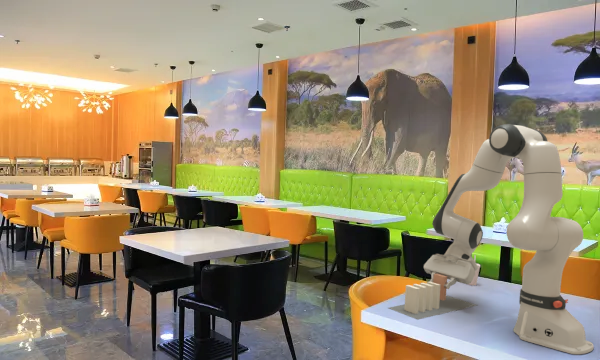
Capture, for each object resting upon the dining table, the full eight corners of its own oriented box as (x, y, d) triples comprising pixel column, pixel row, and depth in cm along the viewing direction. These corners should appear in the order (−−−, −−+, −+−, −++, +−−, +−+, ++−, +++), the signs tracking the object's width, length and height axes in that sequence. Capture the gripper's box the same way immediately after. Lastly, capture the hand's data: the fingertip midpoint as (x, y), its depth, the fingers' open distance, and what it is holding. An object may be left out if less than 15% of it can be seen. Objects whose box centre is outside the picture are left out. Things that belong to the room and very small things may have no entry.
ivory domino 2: (414, 307, 167) (415, 283, 167) (425, 311, 163) (426, 287, 163) (411, 308, 166) (413, 284, 166) (422, 312, 162) (424, 287, 162)
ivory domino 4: (428, 304, 172) (429, 281, 172) (439, 308, 168) (440, 284, 168) (425, 305, 171) (426, 281, 171) (436, 309, 167) (437, 285, 167)
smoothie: (481, 286, 207) (483, 256, 207) (467, 285, 207) (469, 255, 207) (476, 283, 214) (478, 254, 213) (462, 282, 214) (464, 253, 213)
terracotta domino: (434, 296, 175) (436, 273, 174) (445, 299, 171) (447, 276, 170) (432, 296, 174) (433, 273, 173) (443, 300, 170) (444, 277, 169)
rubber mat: (477, 306, 175) (477, 305, 175) (417, 321, 154) (417, 319, 154) (447, 297, 186) (447, 295, 186) (387, 309, 165) (387, 307, 165)
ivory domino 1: (407, 309, 165) (408, 284, 165) (418, 313, 161) (419, 288, 161) (404, 309, 164) (405, 285, 164) (415, 313, 160) (416, 288, 160)
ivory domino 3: (421, 306, 170) (422, 282, 169) (432, 309, 166) (433, 285, 165) (418, 306, 169) (420, 283, 168) (429, 310, 165) (431, 286, 164)
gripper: (431, 248, 184) (413, 274, 178) (476, 258, 167) (458, 287, 162) (437, 258, 187) (420, 283, 181) (482, 269, 170) (465, 297, 165)
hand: (438, 285), depth 171 cm, fingers closed on terracotta domino, 5 cm apart
